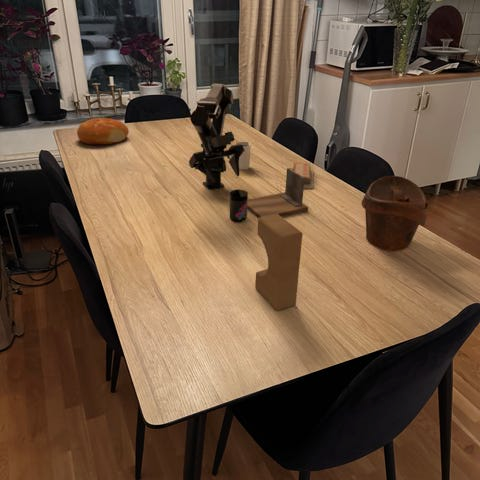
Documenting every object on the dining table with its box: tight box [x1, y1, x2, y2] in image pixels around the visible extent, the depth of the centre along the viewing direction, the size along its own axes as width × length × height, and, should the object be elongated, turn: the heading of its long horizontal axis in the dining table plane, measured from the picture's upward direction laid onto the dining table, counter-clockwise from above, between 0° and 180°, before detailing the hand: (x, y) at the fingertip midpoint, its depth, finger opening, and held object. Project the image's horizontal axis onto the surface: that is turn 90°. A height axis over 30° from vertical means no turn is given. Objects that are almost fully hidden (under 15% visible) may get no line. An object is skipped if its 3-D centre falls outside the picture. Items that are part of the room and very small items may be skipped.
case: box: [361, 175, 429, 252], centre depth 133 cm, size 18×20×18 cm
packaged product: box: [288, 161, 314, 190], centre depth 180 cm, size 18×5×10 cm
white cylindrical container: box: [234, 141, 252, 171], centre depth 189 cm, size 7×7×10 cm
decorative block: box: [254, 214, 303, 311], centre depth 108 cm, size 11×6×20 cm, turn 26°
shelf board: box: [247, 167, 309, 219], centre depth 154 cm, size 14×18×12 cm
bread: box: [76, 117, 130, 146], centre depth 218 cm, size 23×23×10 cm
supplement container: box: [229, 189, 249, 223], centre depth 147 cm, size 6×6×9 cm
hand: (226, 178), depth 148 cm, fingers open, 9 cm apart
